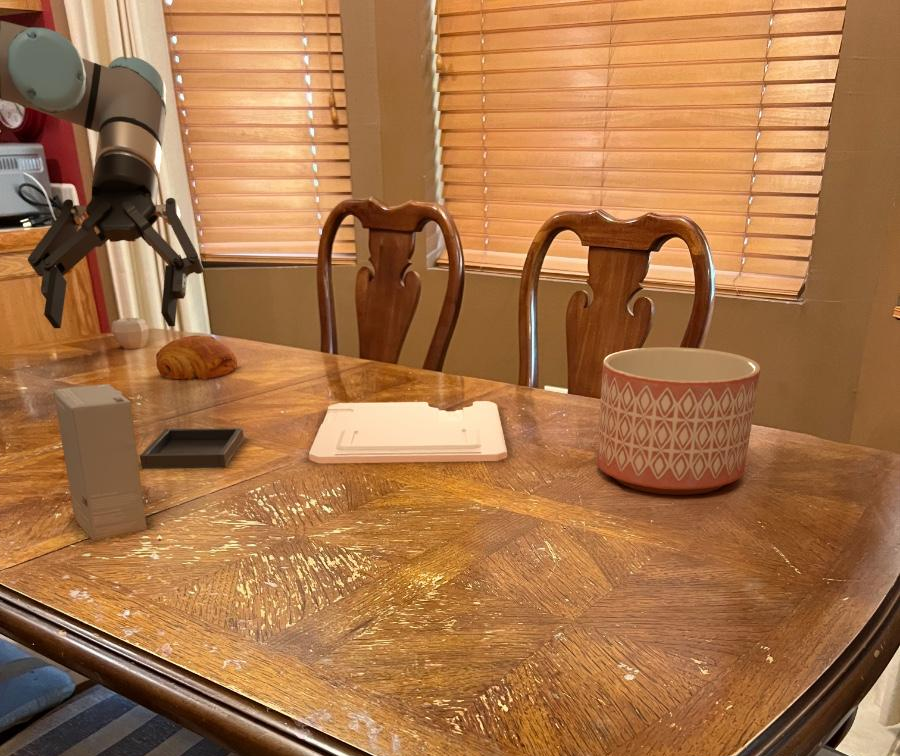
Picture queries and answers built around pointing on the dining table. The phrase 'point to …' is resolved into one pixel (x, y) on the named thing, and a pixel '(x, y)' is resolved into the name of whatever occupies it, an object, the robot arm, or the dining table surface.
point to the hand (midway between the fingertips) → (110, 320)
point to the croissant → (195, 358)
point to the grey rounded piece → (130, 332)
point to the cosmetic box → (101, 460)
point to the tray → (408, 433)
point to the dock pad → (193, 448)
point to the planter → (676, 418)
